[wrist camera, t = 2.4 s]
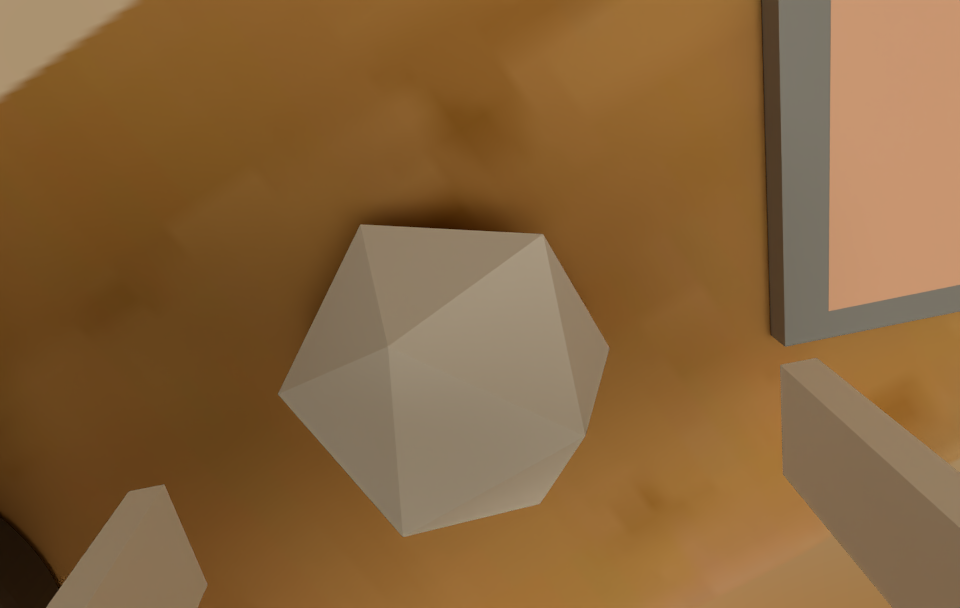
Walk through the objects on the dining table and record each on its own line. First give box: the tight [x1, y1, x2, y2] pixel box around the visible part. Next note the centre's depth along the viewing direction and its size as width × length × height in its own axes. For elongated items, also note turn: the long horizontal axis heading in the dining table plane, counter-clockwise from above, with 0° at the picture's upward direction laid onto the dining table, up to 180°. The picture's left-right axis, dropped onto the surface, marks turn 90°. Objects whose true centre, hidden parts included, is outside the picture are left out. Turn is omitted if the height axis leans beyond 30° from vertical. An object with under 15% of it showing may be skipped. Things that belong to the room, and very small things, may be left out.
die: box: [278, 224, 609, 537], centre depth 19 cm, size 8×9×10 cm
